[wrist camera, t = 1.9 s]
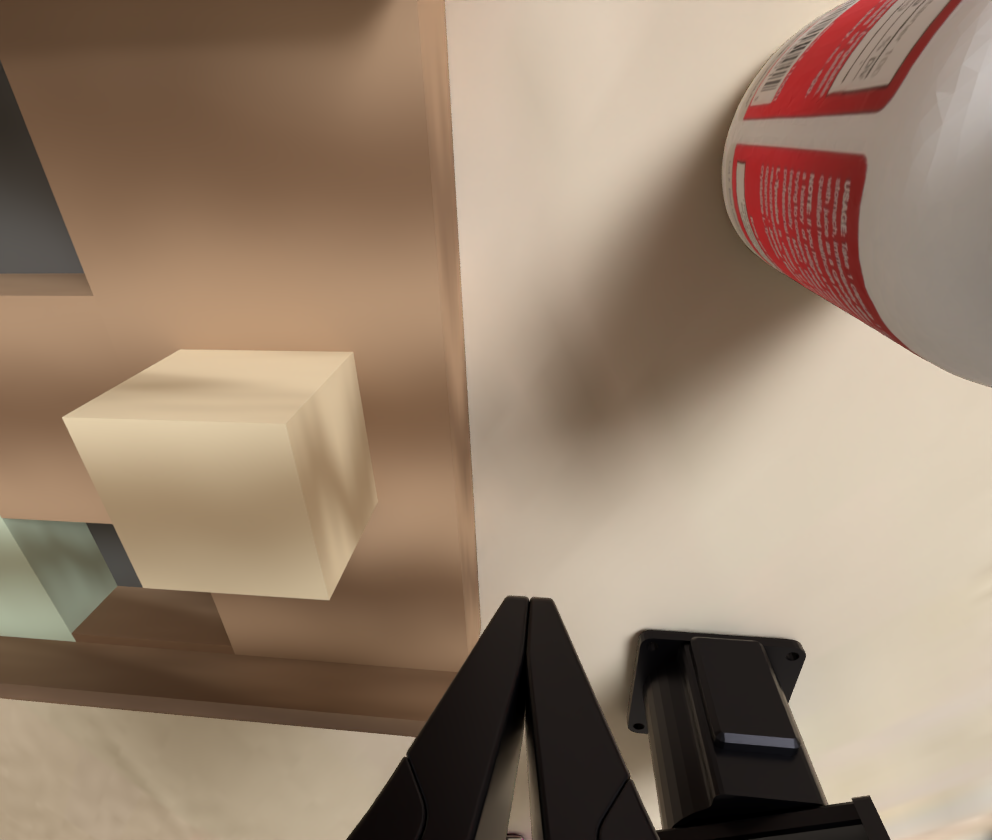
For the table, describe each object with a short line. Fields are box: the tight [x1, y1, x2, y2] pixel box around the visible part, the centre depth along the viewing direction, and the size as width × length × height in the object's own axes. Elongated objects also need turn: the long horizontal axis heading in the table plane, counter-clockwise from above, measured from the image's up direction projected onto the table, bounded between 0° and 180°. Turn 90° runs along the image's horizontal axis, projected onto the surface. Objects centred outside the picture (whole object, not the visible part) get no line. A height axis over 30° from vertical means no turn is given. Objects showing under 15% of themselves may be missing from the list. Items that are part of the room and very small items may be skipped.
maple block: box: [62, 349, 378, 600], centre depth 14 cm, size 5×5×4 cm
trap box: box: [0, 0, 481, 737], centre depth 17 cm, size 23×25×5 cm
